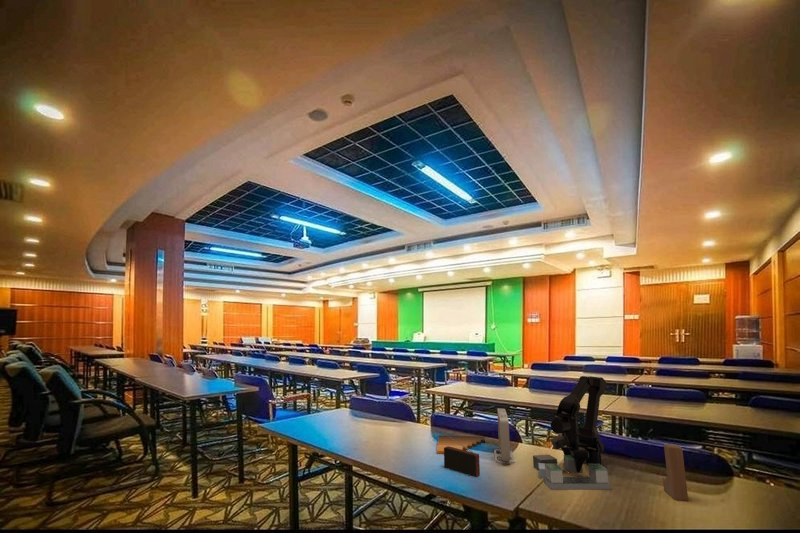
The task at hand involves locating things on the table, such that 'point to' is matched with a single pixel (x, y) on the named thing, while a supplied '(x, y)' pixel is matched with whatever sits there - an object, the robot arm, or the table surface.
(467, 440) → the pan flute
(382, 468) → the table surface
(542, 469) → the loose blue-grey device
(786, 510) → the table surface
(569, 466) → the block
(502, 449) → the network device
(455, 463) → the radio
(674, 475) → the wooden block
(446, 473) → the table surface
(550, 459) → the loose grey block
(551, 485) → the rail
